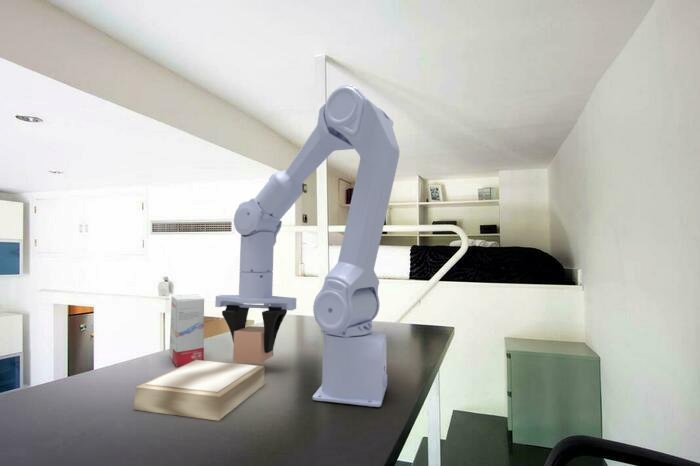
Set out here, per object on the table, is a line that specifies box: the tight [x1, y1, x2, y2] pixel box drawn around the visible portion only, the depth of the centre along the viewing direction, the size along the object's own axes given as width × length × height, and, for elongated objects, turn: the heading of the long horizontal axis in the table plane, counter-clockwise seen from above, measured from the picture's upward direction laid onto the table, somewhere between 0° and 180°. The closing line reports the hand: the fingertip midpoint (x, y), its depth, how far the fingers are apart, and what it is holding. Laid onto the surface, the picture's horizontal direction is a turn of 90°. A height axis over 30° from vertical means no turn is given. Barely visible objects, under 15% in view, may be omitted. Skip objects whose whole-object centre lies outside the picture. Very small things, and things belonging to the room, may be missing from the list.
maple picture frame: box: [133, 360, 266, 422], centre depth 49 cm, size 12×12×3 cm
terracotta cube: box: [232, 325, 274, 365], centre depth 60 cm, size 5×5×5 cm
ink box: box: [169, 293, 205, 368], centre depth 65 cm, size 9×5×12 cm, turn 33°
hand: (254, 350), depth 60 cm, fingers closed on terracotta cube, 5 cm apart
